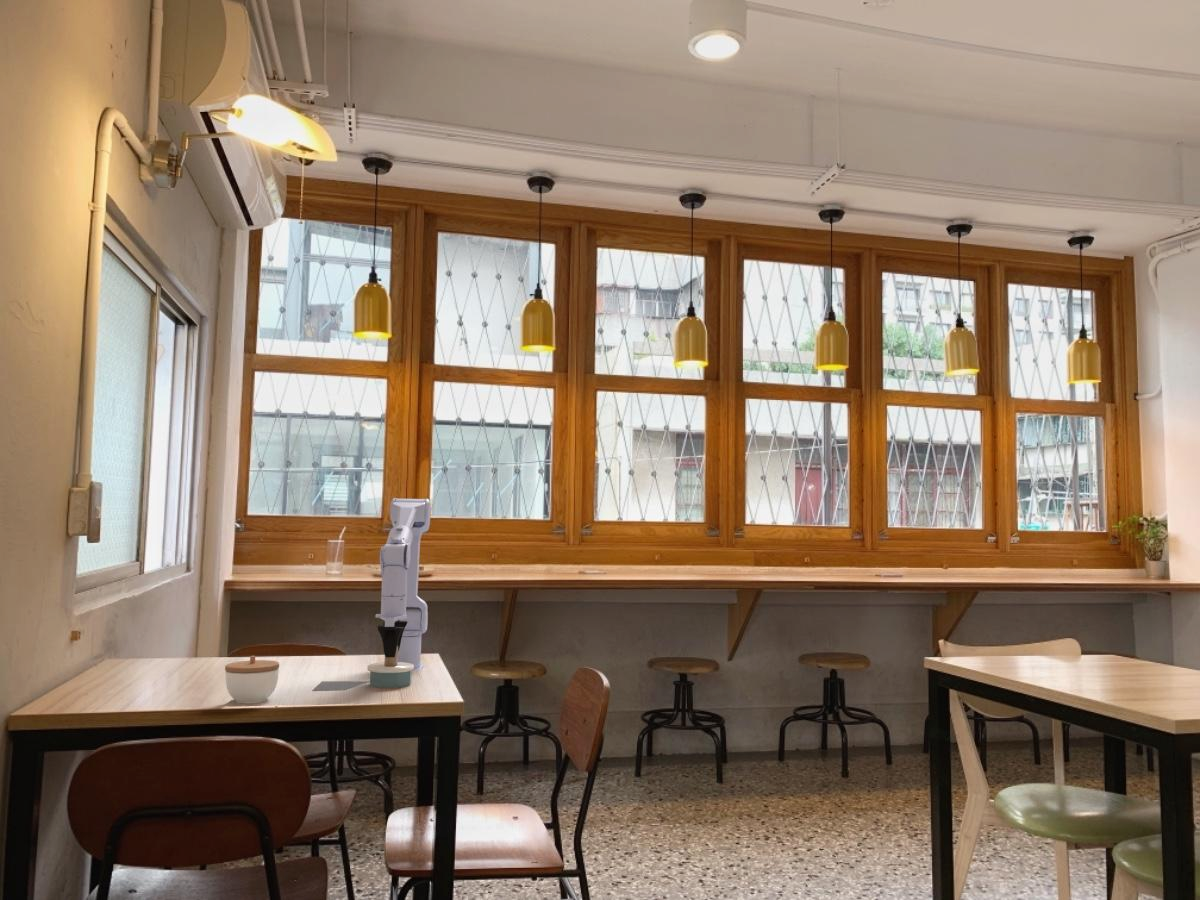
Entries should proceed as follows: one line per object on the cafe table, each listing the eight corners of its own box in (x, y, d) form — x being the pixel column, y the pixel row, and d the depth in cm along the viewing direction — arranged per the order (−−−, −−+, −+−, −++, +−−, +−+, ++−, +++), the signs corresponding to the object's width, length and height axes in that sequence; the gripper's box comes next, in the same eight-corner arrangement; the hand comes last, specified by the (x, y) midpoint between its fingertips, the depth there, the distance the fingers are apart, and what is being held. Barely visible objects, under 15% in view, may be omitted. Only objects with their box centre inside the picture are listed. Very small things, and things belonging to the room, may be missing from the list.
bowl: (373, 683, 215) (374, 665, 216) (412, 682, 216) (413, 665, 217) (368, 690, 206) (368, 672, 207) (408, 690, 207) (409, 672, 208)
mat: (321, 683, 214) (321, 681, 214) (369, 683, 215) (369, 681, 215) (311, 692, 203) (312, 690, 203) (362, 692, 204) (362, 690, 204)
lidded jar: (287, 696, 198) (288, 652, 198) (264, 706, 187) (265, 660, 188) (239, 695, 199) (241, 652, 199) (214, 705, 188) (215, 659, 189)
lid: (370, 665, 216) (371, 643, 217) (415, 665, 217) (416, 643, 218) (364, 673, 206) (365, 649, 206) (411, 673, 207) (412, 649, 207)
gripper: (380, 592, 220) (378, 649, 219) (372, 598, 205) (369, 659, 204) (410, 592, 220) (408, 649, 219) (403, 598, 206) (401, 659, 205)
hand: (392, 654), depth 212 cm, fingers open, 7 cm apart
